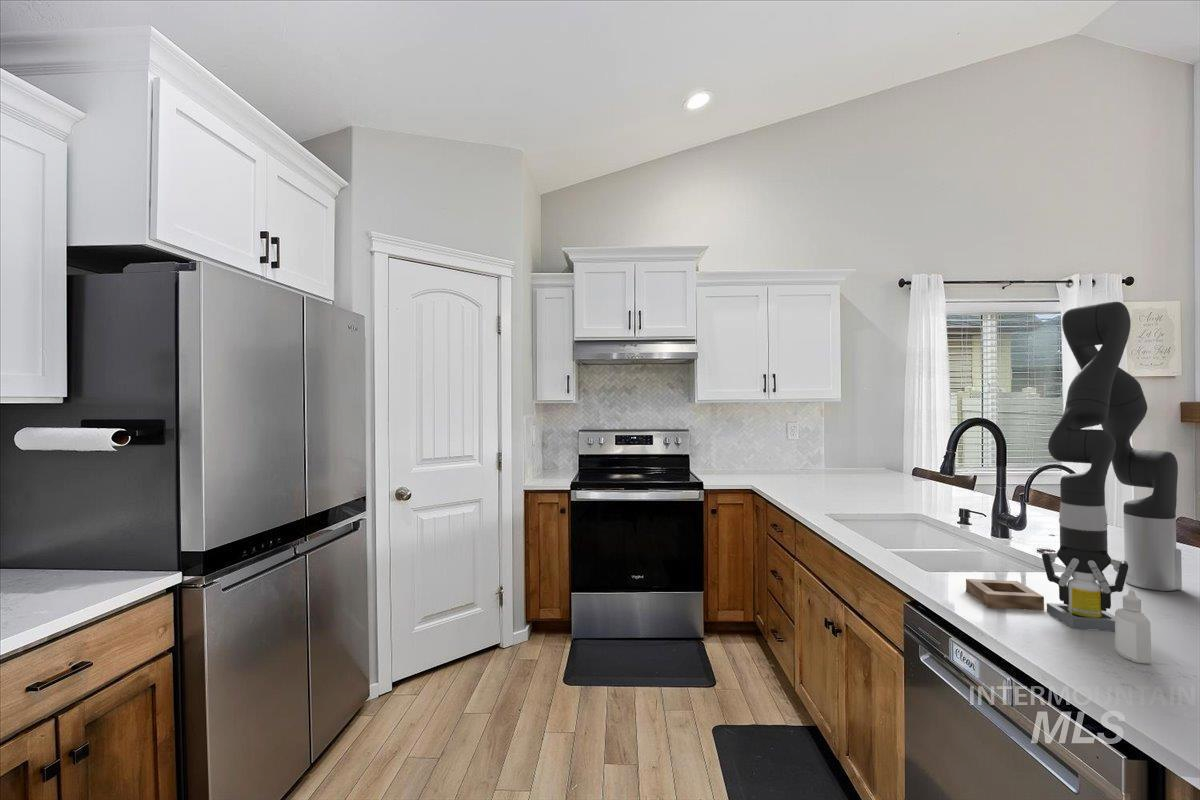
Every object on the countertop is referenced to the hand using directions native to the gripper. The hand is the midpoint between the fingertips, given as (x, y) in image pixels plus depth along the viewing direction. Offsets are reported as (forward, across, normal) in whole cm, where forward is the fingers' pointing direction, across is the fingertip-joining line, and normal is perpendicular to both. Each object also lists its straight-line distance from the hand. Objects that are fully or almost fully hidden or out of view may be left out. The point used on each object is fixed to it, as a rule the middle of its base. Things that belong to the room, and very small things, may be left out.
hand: (1084, 606), depth 117 cm
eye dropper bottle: (+3, -7, +16) cm, 18 cm away
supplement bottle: (+3, 0, 0) cm, 3 cm away
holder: (+3, 0, 0) cm, 3 cm away
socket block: (+3, +14, -4) cm, 15 cm away
